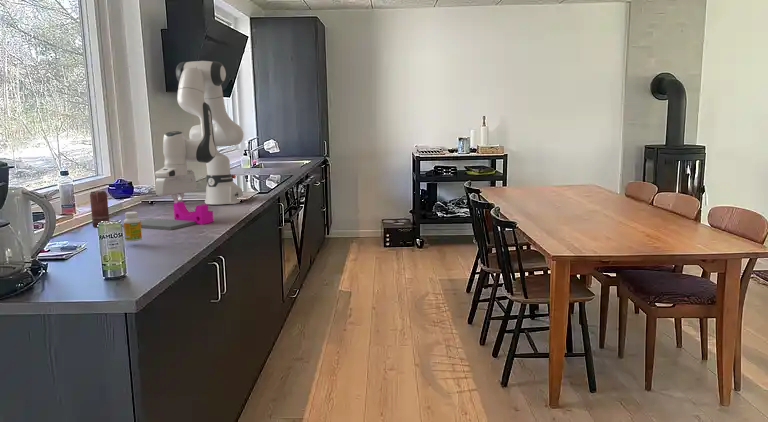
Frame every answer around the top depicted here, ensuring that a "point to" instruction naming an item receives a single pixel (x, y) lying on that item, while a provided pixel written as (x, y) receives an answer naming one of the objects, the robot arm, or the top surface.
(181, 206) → the toy block
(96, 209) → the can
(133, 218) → the supplement bottle
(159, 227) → the slate pad
